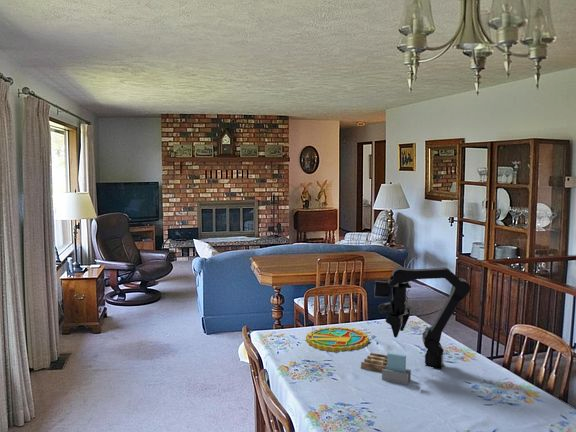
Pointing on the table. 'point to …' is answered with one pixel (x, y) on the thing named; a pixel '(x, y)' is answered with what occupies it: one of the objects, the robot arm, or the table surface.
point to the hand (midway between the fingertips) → (398, 334)
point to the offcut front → (377, 358)
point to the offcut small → (377, 362)
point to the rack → (374, 367)
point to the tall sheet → (396, 362)
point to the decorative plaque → (336, 339)
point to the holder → (396, 376)
